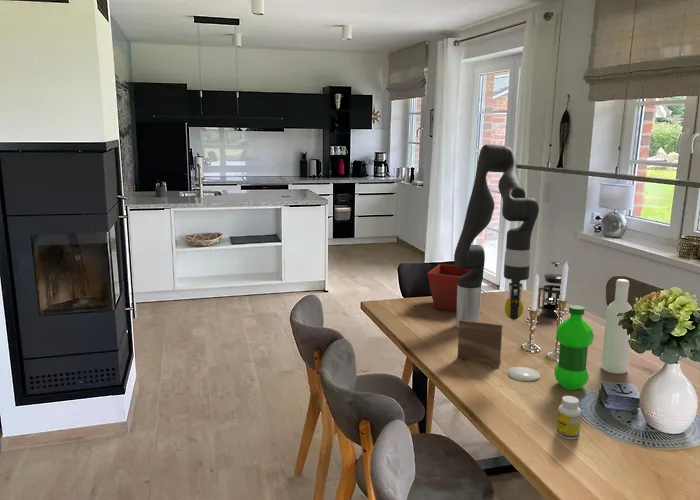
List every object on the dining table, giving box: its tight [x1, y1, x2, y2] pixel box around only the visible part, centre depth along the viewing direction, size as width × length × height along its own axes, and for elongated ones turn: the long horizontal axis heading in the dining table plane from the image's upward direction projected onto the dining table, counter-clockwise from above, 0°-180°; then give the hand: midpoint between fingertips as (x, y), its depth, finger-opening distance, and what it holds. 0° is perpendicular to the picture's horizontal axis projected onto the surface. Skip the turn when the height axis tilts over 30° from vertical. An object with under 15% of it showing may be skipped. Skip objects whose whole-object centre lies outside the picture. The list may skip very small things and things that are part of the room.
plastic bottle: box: [554, 304, 594, 391], centre depth 170 cm, size 10×10×25 cm
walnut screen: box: [455, 319, 503, 369], centre depth 189 cm, size 5×14×14 cm, turn 68°
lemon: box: [504, 298, 524, 321], centre depth 176 cm, size 6×6×8 cm
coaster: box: [506, 366, 541, 382], centre depth 181 cm, size 10×10×1 cm
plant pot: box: [427, 263, 470, 312], centre depth 250 cm, size 19×19×17 cm
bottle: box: [600, 278, 633, 375], centre depth 182 cm, size 8×8×30 cm
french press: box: [537, 261, 563, 319], centre depth 239 cm, size 12×9×23 cm
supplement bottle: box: [556, 395, 582, 441], centre depth 144 cm, size 5×5×10 cm
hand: (513, 315), depth 177 cm, fingers closed on lemon, 5 cm apart
